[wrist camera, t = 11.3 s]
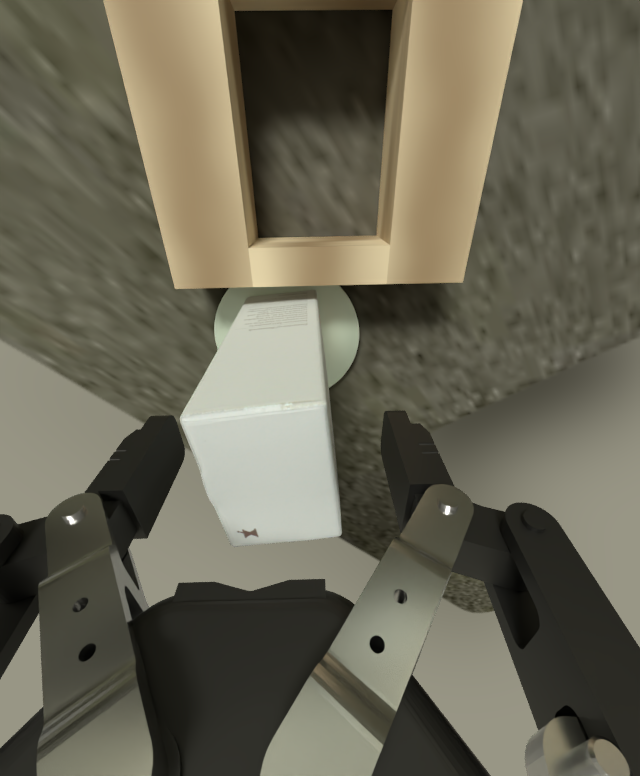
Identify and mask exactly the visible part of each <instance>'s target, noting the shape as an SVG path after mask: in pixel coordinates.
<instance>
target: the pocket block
mask: <svg viewBox="0 0 640 776" xmlns="http://www.w3.org/2000/svg"><path fill="white" fill-rule="evenodd" d="M103 1H104V5H105V9H106V13H107V17H108V21H109V25H110V29H111V33H112V37H113V41H114V45H115V49H116V53H117V57H118V61H119V65H120V69H121V73H122V77H123V81H124V85H125V89H126V93H127V97H128V101H129V105H130V109H131V113H132V117H133V121H134V125H135V129H136V133H137V137H138V141H139V145H140V149H141V154H142V158H143V162H144V166H145V170H146V174H147V178H148V182H149V186H150V190H151V194H152V198H153V202H154V206H155V210H156V214H157V218H158V222H159V226H160V230H161V234H162V238H163V242H164V246H165V250H166V254H167V258H168V262H169V266H170V270H171V274H172V278H173V282H174V286H175V289H193V288H237V287H281V286H325V285H370V284H414V283H458V282H463V279H464V274H465V269H466V265H467V260H468V255H469V251H470V246H471V241H472V237H473V232H474V227H475V223H476V218H477V213H478V208H479V204H480V199H481V194H482V190H483V185H484V180H485V176H486V171H487V166H488V162H489V157H490V152H491V148H492V143H493V138H494V134H495V129H496V124H497V119H498V115H499V110H500V105H501V101H502V96H503V91H504V87H505V82H506V77H507V73H508V68H509V63H510V59H511V54H512V49H513V45H514V40H515V35H516V30H517V26H518V21H519V16H520V12H521V7H522V2H523V0H103ZM281 10H392V24H391V39H390V53H389V67H388V81H387V95H386V109H385V124H384V138H383V152H382V166H381V180H380V194H379V208H378V223H377V236H331V237H281V238H258V229H257V220H256V210H255V201H254V192H253V182H252V173H251V163H250V154H249V144H248V135H247V125H246V116H245V106H244V97H243V87H242V78H241V68H240V59H239V49H238V40H237V30H236V21H235V11H281Z"/></svg>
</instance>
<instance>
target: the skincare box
mask: <svg viewBox="0 0 640 776" xmlns="http://www.w3.org/2000/svg"><path fill="white" fill-rule="evenodd" d="M180 423H181V425H182V428H183V430H184V433H185V435H186V438H187V440H188V442H189V445H190V447H191V450H192V452H193V455H194V457H195V460H196V462H197V464H198V467H199V469H200V473H201V476H202V480H203V484H204V487H205V490H206V493H207V495H208V498H209V500H210V502H211V503H212V504H213V506H214V507H215V509H216V512H217V514H218V517H219V519H220V521H221V523H222V526H223V528H224V530H225V533H226V535H227V537H228V540H229V542H230V544H231V545H232V546H234V547H238V546H248V545H260V544H271V543H283V542H295V541H306V540H316V539H325V538H332V537H338V536H341V534H342V526H341V510H340V496H339V486H338V475H337V464H336V454H335V443H334V434H333V424H332V415H331V405H330V396H329V386H328V377H327V368H326V360H325V352H324V344H323V336H322V329H321V322H320V315H319V306H318V298H317V291H316V290H307V291H299V292H290V293H280V294H270V295H260V296H251V297H247V299H246V300H245V302H244V304H243V306H242V308H241V310H240V311H239V313H238V315H237V317H236V318H235V320H234V322H233V324H232V326H231V327H230V329H229V331H228V333H227V335H226V336H225V338H224V340H223V342H222V344H221V345H220V347H219V349H218V351H217V353H216V355H215V356H214V358H213V360H212V362H211V363H210V365H209V367H208V369H207V371H206V372H205V374H204V376H203V378H202V379H201V381H200V383H199V384H198V386H197V388H196V390H195V392H194V393H193V395H192V397H191V399H190V400H189V402H188V404H187V406H186V407H185V409H184V411H183V413H182V415H181V417H180Z"/></svg>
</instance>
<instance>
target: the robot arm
mask: <svg viewBox="0 0 640 776" xmlns="http://www.w3.org/2000/svg"><path fill="white" fill-rule="evenodd" d="M184 455H185V448H184V444H183V441H182V438H181V435H180V432H179V428H178V425H177V422H176V419H175V418H174V416H172V415H170V416H151V417H149V419H148V420H147V421H146V423H145V424H144V426H143V427H142V429H141V430H135V431H134V432H133V433H131V434H130V435H129V436H127V437H126V438H125V439H124V440H123V441H122V443H121V444H120V445H119V447H118V448H117V450H116V452H114V454H113V455H112V456H111V457H110V461H108V462H107V463H106V464H105V466H104V467H103V468H102V470H101V471H100V472H99V474H98V475H97V476H96V478H95V479H94V480H93V482H92V483H91V485H90V486H89V487H88V489H87V490H86V491H85V493H82V494H78V495H75V496H72V497H70V498H68V499H66V500H65V501H63V502H61V503H60V504H59V505H57V506H56V507H55V508H54V509H53V510H52V511H51V512H50V513H49V515H48V516H47V517H44V518H40V519H37V520H33V521H29V522H25V523H22V524H17V523H16V522H15V521H14V520H13V518H12V517H11V516H9V515H4V514H0V679H1V677H2V675H3V674H4V672H5V670H6V668H7V666H8V665H9V663H10V662H11V660H12V658H13V656H14V655H15V653H16V651H17V650H18V648H19V646H20V644H21V643H22V641H23V639H24V638H25V636H26V634H27V632H28V631H29V629H30V627H31V626H32V624H33V622H34V620H35V619H36V617H37V615H38V614H39V621H40V644H41V666H42V690H43V707H42V709H40V710H39V712H37V713H36V714H35V715H34V716H33V717H32V718H31V719H30V720H29V721H28V722H27V723H26V724H25V725H24V726H23V727H22V728H21V729H20V730H19V731H18V732H17V733H16V734H15V735H13V736H12V737H11V738H10V739H9V740H8V741H7V742H6V743H5V744H4V745H3V746H2V747H1V748H0V776H490V774H489V773H488V772H487V770H486V769H485V768H484V766H483V765H482V764H481V763H480V761H479V760H478V759H477V757H476V756H475V755H474V754H473V752H472V751H471V750H470V748H469V747H468V746H467V745H466V743H465V742H464V741H463V740H462V738H461V737H460V736H459V734H458V733H457V732H456V731H455V729H454V728H453V727H452V725H451V724H450V723H449V721H448V720H447V719H446V717H445V716H444V715H443V714H442V712H441V711H440V710H439V708H438V707H437V706H436V705H435V703H434V702H433V701H432V700H431V698H430V697H429V696H428V694H427V693H426V692H425V691H424V689H423V688H422V687H421V685H420V684H419V683H418V681H417V680H416V679H415V678H414V676H413V675H412V674H413V671H414V669H415V666H416V663H417V661H418V658H419V656H420V653H421V650H422V648H423V645H424V642H425V640H426V637H427V635H428V632H429V629H430V627H431V624H432V621H433V619H434V616H435V614H436V611H437V609H438V606H439V603H440V601H441V598H442V596H443V593H444V590H445V588H446V585H447V583H448V580H449V577H450V575H451V572H455V573H458V574H461V575H465V576H468V577H471V578H475V579H478V580H481V581H484V583H485V586H486V589H487V592H488V594H489V597H490V600H491V603H492V605H493V608H494V611H495V613H496V616H497V619H498V621H499V624H500V627H501V630H502V632H503V635H504V638H505V641H506V643H507V646H508V649H509V652H510V654H511V657H512V660H513V662H514V665H515V668H516V671H517V673H518V676H519V679H520V681H521V684H522V687H523V690H524V692H525V695H526V698H527V700H528V703H529V706H530V709H531V711H532V714H533V717H534V720H535V722H536V725H537V728H538V730H539V731H538V732H537V733H535V734H534V735H533V736H532V737H531V738H530V739H529V741H528V743H527V745H526V750H525V766H526V771H527V776H640V647H639V646H638V644H637V643H636V641H635V640H634V638H633V637H632V635H631V634H630V632H629V631H628V629H627V628H626V626H625V624H624V623H623V621H622V620H621V618H620V617H619V615H618V614H617V612H616V611H615V609H614V607H613V606H612V604H611V603H610V601H609V600H608V598H607V597H606V595H605V594H604V592H603V591H602V589H601V588H600V586H599V584H598V583H597V581H596V580H595V578H594V577H593V575H592V574H591V572H590V571H589V569H588V567H587V566H586V564H585V563H584V561H583V560H582V558H581V557H580V555H579V554H578V552H577V551H576V549H575V547H574V546H573V544H572V543H571V541H570V540H569V538H568V537H567V535H566V534H565V532H564V531H563V529H562V528H561V526H560V525H559V523H558V522H557V521H556V519H555V518H554V517H552V516H551V515H550V514H549V513H548V512H546V511H545V510H543V509H541V508H539V507H537V506H535V505H532V504H527V503H514V504H512V505H510V506H509V507H508V508H507V509H506V511H505V512H503V511H499V510H495V509H491V508H487V507H483V506H480V505H477V504H475V503H472V502H471V500H470V498H469V497H468V496H467V495H466V494H465V493H463V491H461V490H460V489H458V488H456V487H454V485H453V482H452V480H451V478H450V476H449V474H448V472H447V469H446V467H445V465H444V463H443V461H442V459H441V457H440V454H438V450H437V448H436V446H435V445H434V441H433V439H432V437H431V435H430V433H429V432H428V431H427V430H426V429H425V428H424V427H423V426H422V425H421V424H411V423H410V421H409V418H408V416H407V413H406V411H385V413H384V418H383V427H382V436H381V455H382V460H383V464H384V468H385V472H386V476H387V480H388V484H389V488H390V492H391V496H392V500H393V504H394V508H395V512H396V516H397V520H398V524H399V528H400V532H401V533H402V534H401V535H400V537H399V538H397V537H396V538H394V539H393V541H392V542H391V544H390V545H389V547H388V549H387V550H386V552H385V554H384V556H383V557H382V559H381V561H380V563H379V564H378V566H377V568H376V570H375V571H374V573H373V575H372V576H371V578H370V580H369V581H368V583H367V585H366V587H365V588H364V590H363V592H362V594H361V595H360V597H359V599H358V600H357V602H356V604H355V605H354V604H353V603H352V602H351V601H349V600H348V599H346V598H344V597H342V596H340V595H338V594H336V593H333V592H330V591H326V590H325V579H311V580H310V579H309V580H288V581H284V582H281V583H278V584H274V585H271V586H268V587H264V588H261V589H257V590H254V591H246V590H242V589H239V588H235V587H231V586H228V585H224V584H220V583H216V582H194V583H179V584H178V586H177V590H176V592H175V595H174V596H172V597H169V598H167V599H165V600H162V601H160V602H158V603H156V604H155V605H153V606H151V607H150V608H149V606H148V604H147V602H146V599H145V596H144V593H143V590H142V587H141V583H140V580H139V577H138V573H137V570H136V567H135V563H134V560H133V557H132V553H131V551H130V549H129V546H130V544H131V542H132V540H133V539H141V538H148V535H149V533H150V531H151V529H152V527H153V525H154V523H155V520H156V518H157V516H158V514H159V512H160V510H161V507H162V505H163V503H164V501H165V499H166V497H167V495H168V493H169V491H170V488H171V486H172V484H173V482H174V480H175V478H176V476H177V473H178V471H179V469H180V467H181V465H182V462H183V460H184Z"/></svg>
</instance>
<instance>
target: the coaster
mask: <svg viewBox="0 0 640 776" xmlns="http://www.w3.org/2000/svg"><path fill="white" fill-rule="evenodd" d="M307 290H316V291H317V298H318V306H319V315H320V322H321V329H322V336H323V344H324V352H325V360H326V368H327V377H328V386H329V387H331V386H332V385H334V384H335V383H336V382H338V381H339V380H340V379H341V378H342V377H343V376H344V374H345V373H346V372H347V370H348V369H349V368H350V366H351V364H352V362H353V360H354V358H355V355H356V353H357V349H358V344H359V324H358V319H357V316H356V312H355V309H354V307H353V305H352V303H351V300H350V299H349V297H348V295H347V294H346V292H345V291H344V290H343V289H342V287H341V286H340V285H325V286H281V287H237V288H229V289H228V290H227V292H226V293H225V295H224V296H223V298H222V300H221V302H220V304H219V306H218V309H217V312H216V317H215V325H214V333H215V341H216V345H217V348H218V349H219V347H220V345H221V344H222V342H223V340H224V338H225V336H226V335H227V333H228V331H229V329H230V327H231V326H232V324H233V322H234V320H235V318H236V317H237V315H238V313H239V311H240V310H241V308H242V306H243V304H244V302H245V300H246V299H247V297H251V296H260V295H270V294H280V293H290V292H299V291H307Z"/></svg>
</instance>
